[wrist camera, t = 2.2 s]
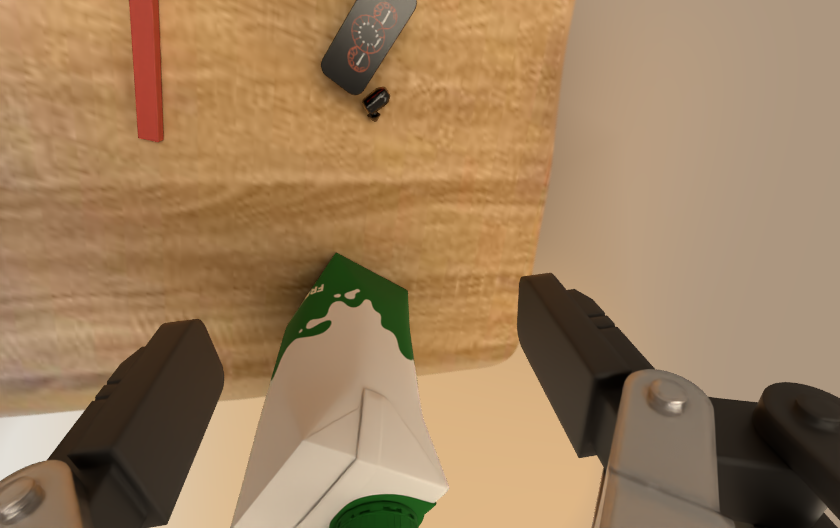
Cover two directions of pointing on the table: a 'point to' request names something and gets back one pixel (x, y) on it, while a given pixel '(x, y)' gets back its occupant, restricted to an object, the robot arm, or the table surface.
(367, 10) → the black gauge box
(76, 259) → the table surface
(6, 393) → the table surface
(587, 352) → the robot arm
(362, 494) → the milk carton
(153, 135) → the spoon
